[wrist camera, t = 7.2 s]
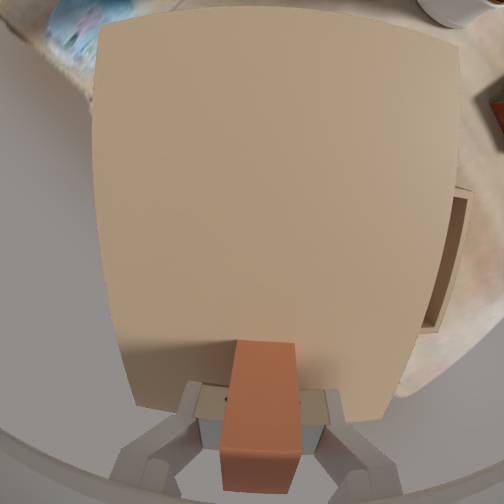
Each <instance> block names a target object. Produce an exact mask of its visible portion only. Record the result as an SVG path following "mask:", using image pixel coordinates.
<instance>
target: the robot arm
mask: <svg viewBox="0 0 504 504" xmlns="http://www.w3.org/2000/svg"><path fill="white" fill-rule="evenodd" d="M229 386H230V385H221V384H213V383H206V382H197V381H191V380H189V381H188V382H187V383H186V386H185V389H184V392H183V395H182V398H181V401H180V404H179V407H178V411H177V414H176V415H171V416H169V417H168V418H166V419H165V420H163V421H162V422H161V423H159V424H158V425H157V426H155V427H154V428H152V429H150V430H149V431H147V432H146V433H145V434H143V435H142V436H140V437H139V438H137V439H136V440H134V441H132V442H131V443H129V444H128V445H126V446H125V447H123V448H122V449H121V451H120V453H119V455H118V458H117V460H116V463H115V465H114V467H113V470H112V472H111V474H110V477H109V479H106V478H104V477H101V476H98V475H95V474H93V473H90V472H87V471H85V470H82V469H80V468H77V467H75V466H73V465H70V464H68V463H65V462H63V461H61V460H59V459H57V458H55V457H52V456H50V455H48V454H46V453H44V452H42V451H40V450H38V449H36V448H34V447H32V446H31V445H29V444H27V443H25V442H23V441H22V440H20V439H18V438H16V437H15V436H13V435H11V434H9V433H8V432H6V431H4V430H3V429H1V428H0V504H214V503H207V502H200V501H194V500H188V499H183V498H181V492H180V489H179V487H178V485H177V482H176V480H175V477H174V476H176V474H178V473H179V472H180V471H181V470H182V469H183V468H184V467H185V466H186V465H187V464H188V463H189V462H190V461H191V460H193V459H194V458H195V456H197V455H198V454H199V453H200V452H201V451H202V448H203V449H212V450H219V444H220V439H221V433H222V427H223V421H224V415H225V409H226V403H227V398H228V392H229ZM299 403H300V417H301V433H302V449H303V451H302V454H301V455H314V456H315V457H316V459H317V460H318V461H319V463H320V464H321V465H322V467H323V468H324V469H325V470H326V472H327V473H328V474H329V475H330V477H331V478H332V479H333V480H334V482H335V483H336V484H337V485H338V489H337V490H336V492H335V493H334V494H333V496H332V497H331V499H330V500H329V501H328V504H504V460H503V461H500V462H498V463H496V464H494V465H492V466H489V467H487V468H485V469H483V470H480V471H478V472H475V473H472V474H470V475H467V476H464V477H462V478H459V479H456V480H453V481H450V482H447V483H444V484H441V485H438V486H435V487H431V488H428V489H424V490H420V491H416V492H412V493H409V494H404V495H403V491H402V487H401V483H400V480H399V476H398V472H397V468H396V464H395V463H394V462H393V461H392V460H390V459H389V458H388V457H387V456H386V455H385V454H383V453H382V452H381V451H380V450H379V449H378V448H377V447H375V446H374V445H373V444H372V443H371V442H370V441H369V440H368V439H366V438H365V437H364V436H363V435H362V434H361V433H360V432H359V431H358V430H356V429H355V428H354V427H353V426H352V425H351V424H346V419H345V415H344V410H343V405H342V400H341V396H340V391H339V390H338V389H299Z"/></svg>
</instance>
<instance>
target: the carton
mask: <svg viewBox="0 0 504 504" xmlns="http://www.w3.org/2000/svg"><path fill="white" fill-rule="evenodd" d="M489 103H490V105H491V107H492V109H493V111H494V114H495V116H496V118H497V120H498V122H499V124H500V127H501V129H502V131H503V133H504V90H503V91H502V92H500V93H499V94H498V95H496V96H495V97H494V98H492V99H490V102H489Z"/></svg>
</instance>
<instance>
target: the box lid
mask: <svg viewBox="0 0 504 504" xmlns="http://www.w3.org/2000/svg"><path fill="white" fill-rule="evenodd" d="M460 119H461V85H460V64H459V51H458V46H456V45H453V44H451V43H448V42H445V41H443V40H440V39H437V38H435V37H432V36H429V35H426V34H423V33H420V32H417V31H414V30H410V29H407V28H404V27H400V26H397V25H393V24H389V23H385V22H381V21H377V20H373V19H368V18H363V17H358V16H353V15H348V14H342V13H336V12H329V11H322V10H313V9H304V8H292V7H276V6H223V7H207V8H195V9H186V10H178V11H170V12H163V13H157V14H151V15H146V16H141V17H136V18H131V19H127V20H122V21H118V22H114V23H110V24H106V25H103V26H100V31H99V38H98V45H97V54H96V63H95V74H94V87H93V106H92V166H93V186H94V201H95V211H96V223H97V232H98V240H99V248H100V255H101V261H102V268H103V274H104V280H105V285H106V291H107V296H108V300H109V306H110V310H111V315H112V319H113V324H114V329H115V333H116V337H117V341H118V345H119V349H120V352H121V356H122V360H123V363H124V367H125V371H126V374H127V377H128V380H129V384H130V387H131V390H132V393H133V396H134V399H135V403H136V405H137V406H142V407H146V408H151V409H156V410H161V411H167V412H173V413H177V411H178V407H179V404H180V401H181V398H182V395H183V392H184V389H185V386H186V383H187V382H188V381H189V380H191V381H197V382H206V383H213V384H221V385H230V386H229V392H228V398H227V403H226V409H225V415H224V421H223V427H222V433H221V439H220V444H219V451H220V462H221V472H222V482H223V490H224V491H234V492H247V493H264V494H287V493H288V491H289V488H290V485H291V482H292V480H293V477H294V474H295V471H296V469H297V466H298V463H299V460H300V457H301V454H302V451H303V449H302V433H301V417H300V403H299V389H338V390H339V391H340V396H341V400H342V405H343V410H344V415H345V419H346V422H356V421H368V420H379V419H381V418H382V416H383V414H384V412H385V410H386V408H387V406H388V404H389V402H390V400H391V398H392V396H393V394H394V392H395V390H396V388H397V385H398V383H399V381H400V379H401V377H402V374H403V372H404V370H405V367H406V365H407V362H408V360H409V358H410V355H411V353H412V350H413V347H414V345H415V342H416V340H417V337H418V334H419V331H420V329H421V326H422V323H423V320H424V317H425V314H426V311H427V308H428V305H429V302H430V298H431V295H432V292H433V288H434V285H435V281H436V278H437V274H438V270H439V266H440V262H441V258H442V254H443V250H444V245H445V241H446V236H447V231H448V226H449V221H450V215H451V210H452V204H453V197H454V190H455V183H456V174H457V165H458V154H459V141H460Z"/></svg>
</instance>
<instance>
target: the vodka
mask: <svg viewBox="0 0 504 504" xmlns="http://www.w3.org/2000/svg"><path fill="white" fill-rule="evenodd" d="M417 2H418V3H419V5H420V6H421V7H422V9H423V10H424V11H425V12H426V13H427V14H428V15H429V16H430V17H431V18H433V19H434V20H435V21H437V22H438V23H440V24H442V25H444V26H446V27H449V28H454V29H463V28H466V27H468V26H470V25H471V24H473V23H474V22H475V20H476V19H477V18H479V17H480V16H482V15H483V14H485V13H487V12H488V11H491V10H493V9H496V8H503V7H504V0H417Z"/></svg>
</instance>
